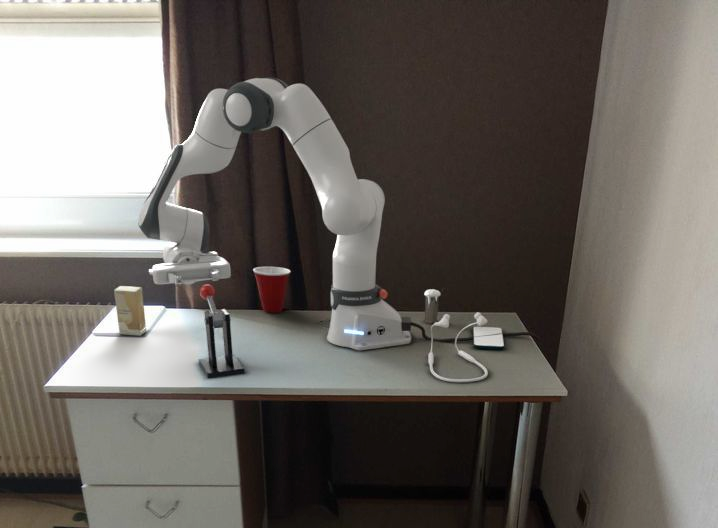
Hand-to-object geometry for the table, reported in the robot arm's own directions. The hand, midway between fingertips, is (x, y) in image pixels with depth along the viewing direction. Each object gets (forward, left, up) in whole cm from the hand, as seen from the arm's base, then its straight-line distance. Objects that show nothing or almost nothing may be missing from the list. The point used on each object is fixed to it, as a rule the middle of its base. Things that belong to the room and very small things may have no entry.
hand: (197, 279), depth 192 cm
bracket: (-4, +21, -16) cm, 27 cm away
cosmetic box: (+18, -10, -16) cm, 27 cm away
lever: (-3, +15, -4) cm, 16 cm away
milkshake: (-65, -4, -16) cm, 67 cm away
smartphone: (-75, +13, -16) cm, 78 cm away
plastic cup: (-22, -24, -16) cm, 37 cm away
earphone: (-60, +31, -16) cm, 69 cm away
